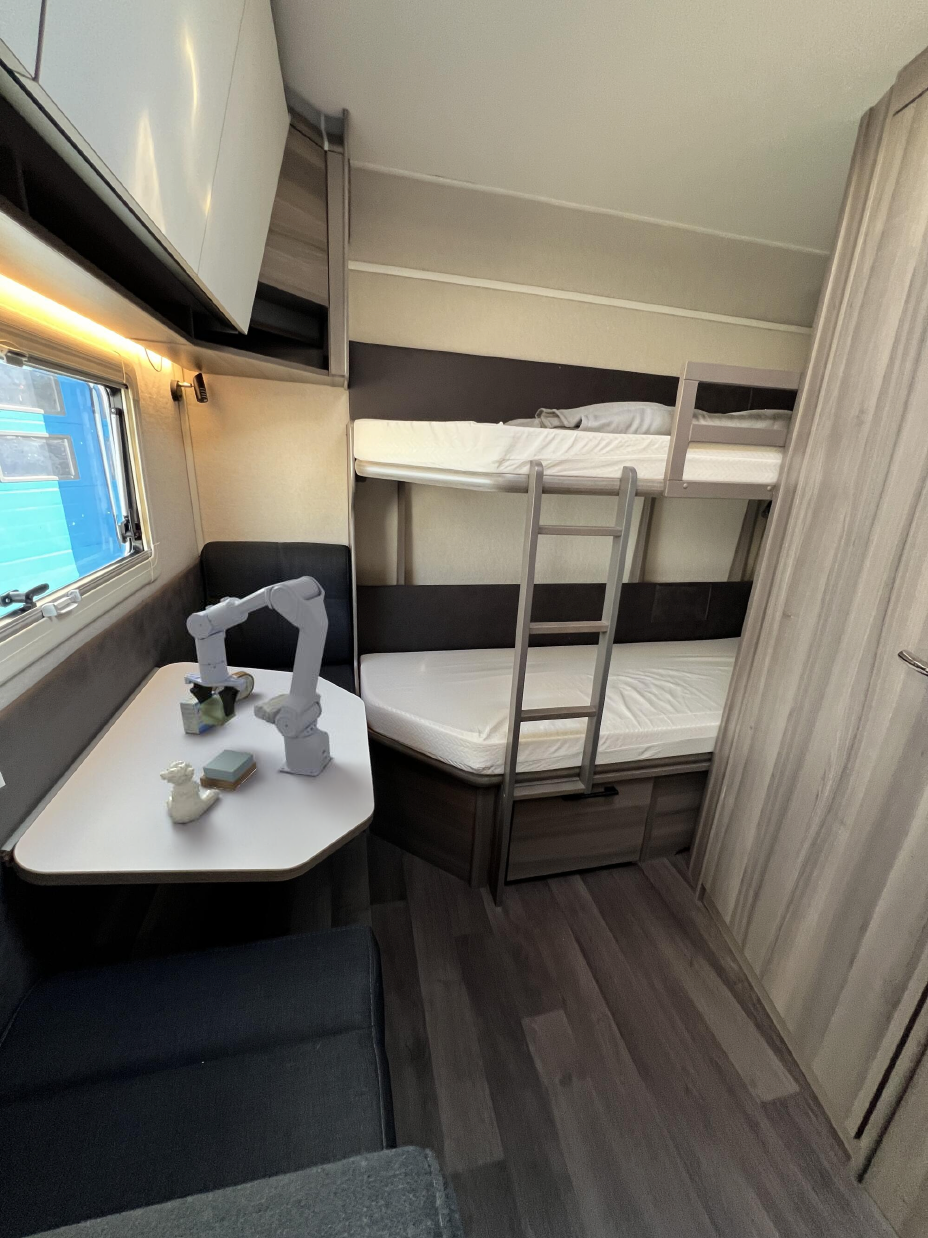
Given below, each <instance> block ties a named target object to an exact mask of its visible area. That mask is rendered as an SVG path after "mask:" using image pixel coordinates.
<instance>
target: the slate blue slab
mask: <svg viewBox="0 0 928 1238" xmlns="http://www.w3.org/2000/svg"><path fill="white" fill-rule="evenodd" d="M254 762H255V760H254V753H250V752H245V751H244V752H242V751H237V750H233V749H232V750H230V749H224V750H223V751H222V752H220V753H219V754H217V756H215V757H213V758H212V759H211V760H210V761H209V762H207V763H206V764H205V765H204V766H202V770H203V775H204V777H207V778H212V779H218V780H224V781H230V782H234V781H235V780H236V779H238V778H239V777H240V776H241V775H242V774H243V773H244V772H245V771H246V770H247V769H248V768H250V767H251V766H252V765H253V764H254Z"/></svg>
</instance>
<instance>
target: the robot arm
mask: <svg viewBox="0 0 928 1238" xmlns="http://www.w3.org/2000/svg"><path fill="white" fill-rule="evenodd" d="M324 598H325V590H324V589H323V587H322V586H321V585H320V583H319V582H318V581H317V580H316V579H315V578H314V577H312V576H308V575H306V576H305V575H303V576H301V577H299V578H297V579H290V580H286V581H283V582H279V583H275V584H272V585H269V586H266V587H263V588H261V589H259V590H257V591H255V592H254V593H251V594H249V595H247V596H246V597H244V598H241V599H240V598H238V597H229V596H226V597H223V598H221V599H220V600H219V601H220V602H219V603H217V604H215V605H213V604H211V605H208V606H206V607H205V610H203V611H199V612H194V613H192V614H191V615H189V616H188V618H187V619H186V628H187V631H188V632H189V634H190V635H191V636H192V637H193V638H194V640H195V647H196V655H197V662H198V669H199V673H188V674H186V675H185V676H184V677H183V679H184V685H190V684H193V686H192V687H191V688H189V692H190V693H191V694H192V696H193V695H194V696H195V698H196V699H197V700H198V702H199V703H200V705H201V704H202V703H203V702H205V701H207V700H208V699H210V698H211V697H212V689H213V686H219V687H224V689H223V690H221V691H219V692H218V695H219V696H220V698H221V700H222V703H223V707H224V713H225V716H226V717H229V716H230V715H232V714H233V713H234V706H235V707H236V703H237V702H236V698H237V695H238V693H239V691H240V690H242V689H244V688H245V687H246V681H245V680H244V679H239V678H236V677H234V676H231V674H230V672H229V671H228V662H227V655H226V647H225V645H226V644H225V638H226V630H227V629H230V628H232V627H234V626H237V625H238V624H241V623H243V622H245V621H247V619H248V616H249V613H251V612H253V611H256V610H258V609H261V608H263V607H265V606H268V608H269V609H271V610H273V609H274V610H276V611H277V612H278V613H279V614H280V615H281V616H282V617H284V618H285V619H286V620H287V621H288V622H290V623H291V624H292V625H293V626H294V627H297V628H298V629H299V633H298V640H297V646H296V652H295V658H294V663H293V664H294V665H293V671H292V676H291V683H290V689H289V693H288V694H289V695H288V696H287V698H286V700H285V701H284V703H283V704H282V706H281V711H280V713H279V714H278V715H277V716H276V719H275V723H274V724H275V728H276V730H277V731H278V733H279V734H280V735H281V736H282V737H283V741H284V742H283V743H284V752H285V753H284V755H285V756H284V757H285V761H284V762H283V763H282V764H281V765H280V766H279V767H278V771H279V772H285V773H290V774H291V773H292V774H298V775H299V774H300V775H306V776H311V777H313V776H314V777H316V776H318V775H319V773H321V771H322V770H323V769H324V768H325V766H326V765H327V764H328V762H330V761H331V759H332V755H331V750H330V749H331V748H330V736H329V733H328V732H327V731H325V730H322V729H319V728H318V726H317V725H318V720H319V718H320V717H321V715H322V713H323V708H322V704H321V698H322V696H321V694H320V693H318V692H317V687H318V682H319V676H320V670H321V665H322V658H323V655H324V648H325V644H326V640H327V639H326V638H327V634H328V633H327V632H328V628H329V619H328V615H327V610H326V608H325V607H326V606H325V603H324V600H325V599H324ZM235 702H236V703H235Z"/></svg>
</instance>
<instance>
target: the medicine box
mask: <svg viewBox="0 0 928 1238" xmlns="http://www.w3.org/2000/svg"><path fill="white" fill-rule="evenodd" d="M214 695H216V692H214V691H212V697H213V696H214ZM179 705H180V712H181V719H182V724H183V731H184V733H190V734H197V735H199V734H202V733H203V732H204V731H205V730H207V729H208V728H210V727H211V726H213V725H212V724H204V723H203V717H202V710H201V705H200V703H199V702H198V700H197V699H196V698H195V696H194V695H193V694H192V696H190V697H188V698H186V699H184V700H182V701H181V702H179Z"/></svg>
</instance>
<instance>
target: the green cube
mask: <svg viewBox="0 0 928 1238" xmlns="http://www.w3.org/2000/svg"><path fill="white" fill-rule="evenodd" d="M201 710H202V717H203V723H204V724H212V725H211V726H213V725H214V726H222V727H223V726H224V725H225V724H227V723H228V722H229V721H231V720H233V719H234V718H235V717H236V716H237V714H236V713H237V712H236V705H235V706H234V713H233V714H232V715H230V716H229V717H226V716H225V713H224V707H223V703H222V700H221V698H220V696H219V695H214V696H213V697H211V698H210V699H208V700H207V701H205V702H203V703H202V704H201Z"/></svg>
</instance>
